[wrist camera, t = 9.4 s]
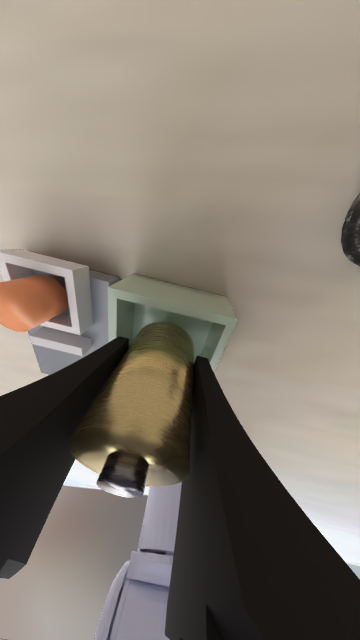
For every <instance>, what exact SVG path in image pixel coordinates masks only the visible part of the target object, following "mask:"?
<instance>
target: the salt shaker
mask: <svg viewBox="0 0 360 640" xmlns="http://www.w3.org/2000/svg"><path fill="white" fill-rule="evenodd" d="M341 243H342V247H343V251H344V253H345V255H346V256H347V257H348V259H349V260H350V261H352V262H353V263H355V264H357V265H359V266H360V194H359V195H358V197H357V198H356V200H355V201H354V203H353V205H352V207H351V208H350V210H349V212H348V214H347V216H346V219H345V222H344V225H343V228H342V238H341Z"/></svg>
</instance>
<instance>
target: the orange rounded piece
mask: <svg viewBox="0 0 360 640" xmlns="http://www.w3.org/2000/svg"><path fill="white" fill-rule="evenodd" d="M68 307H69V303H68V296H67V292H66V290H65V289H64V287H63V286H62V285H61V284H60V283H59V282H58V281H57V280H55V279H54V278H52V277H50V276H47V275H43V274H37V275H33V276H28V277H23V278H19V279H14V280H9V281H5V282H0V324H2V325H3V326H5V327H7V328H9V329H11V330H14V331H18V332H26V331H29V330H31V329H33V328H35V327H37V326H38V325H40V324H42V323H44V322H46V321H48V320H50V319H52V318H53V317H55V316H57V315H59V314H61V313H63V312H65V311H66V310H67V309H68Z"/></svg>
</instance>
